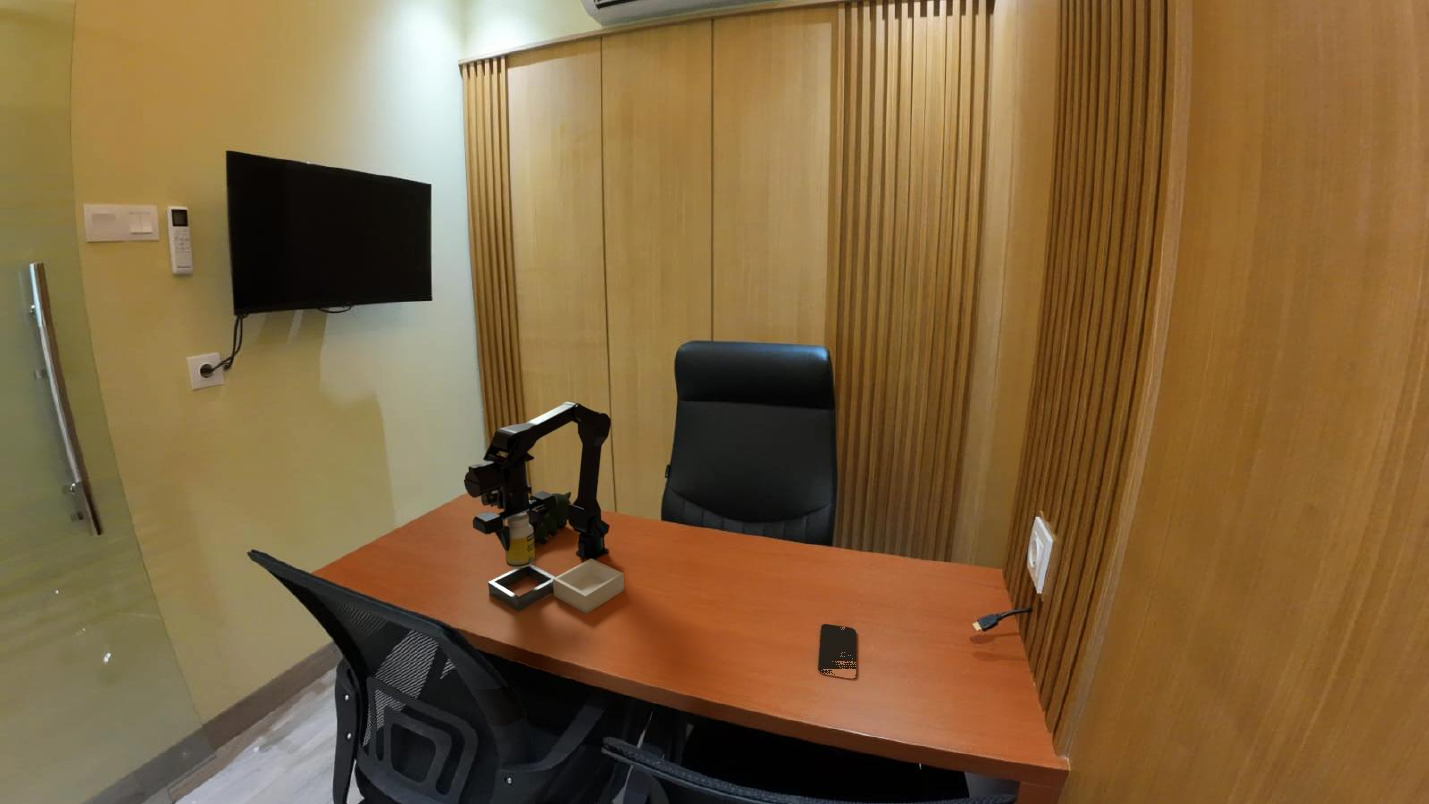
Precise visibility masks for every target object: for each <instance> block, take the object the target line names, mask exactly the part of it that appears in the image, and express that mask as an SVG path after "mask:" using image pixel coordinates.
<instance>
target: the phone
mask: <svg viewBox="0 0 1429 804" xmlns="http://www.w3.org/2000/svg"><path fill="white" fill-rule="evenodd" d="M840 627H841V628H840ZM842 627H845V629H844V628H843V629H844V630H843V629H842ZM841 629H842V630H841ZM818 650H819V652H818V660H817V661H818V662H817V663H818V665H817V671H818V670H819V671H820V672H822V673H824V672H825V673H827V672H828V671H829V672H828V673H829V674H830V671H832V670H828V671H827V670H825V671H824V670H823V669H842V668H843V669H844V668H845V669H849V668H850V669H851V668H852V669H856V668H857V669H858V666H857V667H855V666H856V665H855V664H856V663H855V664H854V662H856V660H857V659H856V658H858V657H857V656H858V655H857V631H856V629H855V628H854V627H849V626H841V625H837V624H830V623H823V624H822V625H820V635H819V649H818ZM842 652H843V653H842ZM844 652H845V653H844ZM841 653H842V654H841ZM841 655H842V656H843V657H842V656H841ZM848 655H849V656H848ZM850 655H851V656H850ZM856 655H857V656H856ZM840 656H841V657H840ZM844 656H845V657H844ZM852 658H853V659H852ZM832 661H833V662H832ZM835 661H836V662H837V661H845V662H847V661H848V662H849V661H850V662H851V661H853V664H854V665H853V664H852V663H850V662H849V663H844V664H845V665H843V664H842V665H841V664H840V662H839V663H838V662H837V663H836V662H835ZM842 663H843V662H842ZM836 664H837V665H836ZM838 664H840V665H838ZM846 664H847V665H846ZM848 664H849V665H848ZM850 664H852V665H850ZM839 666H840V667H841V668H840V667H839ZM842 666H843V667H842ZM844 666H845V667H844ZM846 666H847V667H846ZM849 666H850V667H849ZM851 666H852V667H851ZM853 666H854V667H853ZM821 670H822V671H821ZM819 671H818V672H819ZM825 673H824V674H825ZM828 673H827V674H828ZM831 673H832V672H831ZM832 674H833V673H832ZM834 675H835V674H834Z"/></svg>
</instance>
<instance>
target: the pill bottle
mask: <svg viewBox="0 0 1429 804" xmlns="http://www.w3.org/2000/svg"><path fill="white" fill-rule="evenodd" d="M506 520H507V526H508V525H509V526H508V527H510V546H509V551H505V560H506V561H505V562H506V566H508V567H509V568H512V569H516V568H524V567H527V566H529V565H531V564H532V565H533V564H534V562H535V561H536V552H535V551H536V549H535V547H536V546H535V547H534V531H533V527H532V525H531V524H529V516H528V514H527V513H526V512H524V513H521V514H519V515H516V516H514V517H511V518H509V519H506Z"/></svg>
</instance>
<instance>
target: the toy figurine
mask: <svg viewBox="0 0 1429 804" xmlns="http://www.w3.org/2000/svg"><path fill="white" fill-rule="evenodd" d="M528 493H529V495H532V493H533V492H532V491H529V492H528ZM551 494H552V495H554V496H555V497H556V498H557V507H555V508H552V509H550V510H549V513H547V514H546V516H545V518H544V519H543V521H542V523H541V525H540V527H539V530H538V532H537V534H536V537H535V539H534V547H536V544H540V545H542V546H545V545H546V544H547V543H548V539H547V536H548V535H549V536H550V537H552V538H554V537H556V536H558V535H559V530H558V529H562V528H565V527H567V524H568V519H567V515H568V505H569V504H572V502H571V500H570V499H571V496H572V492H571V491H568V492H566V493H564V494H563V493H557V492H556V493H551ZM506 526H507V527H508V526H509V525H508V524H507V525H506Z"/></svg>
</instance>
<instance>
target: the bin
mask: <svg viewBox="0 0 1429 804" xmlns="http://www.w3.org/2000/svg"><path fill="white" fill-rule="evenodd" d="M554 577H555V578H553V588H554V593H553V596H554V597H555V598H558V599H559V600H561V601H562V602H565V603H567V605H570V606H572V607H573V608H575V609H577V610H579V611H580V612H582V613H584V614H586V615H588V614H589V613H590V612H592V611H594V610H596V609H597V608H598V607H600V606H601V605H602V604H605V603H607V601H609V600H611V599H612V598H614V597H616V596H617V595H619V594H621V593H622V592H624V591H625V581H624V579H625V578H624V577H625V576H624V573H623V572H621V571H619V570H617V569H615V568H612V567H611V566H609V565H606V564H604V563H602V562H600V561H598V560H597V559H596V560H595V559H589V560H588V559H586V560H585V561H584V562H582V563H580V564H578V565H576V566H575V567H572V568H571V569H568V570H567V571H565V572H563V573H561V574H560V575H557V576H554Z"/></svg>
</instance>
